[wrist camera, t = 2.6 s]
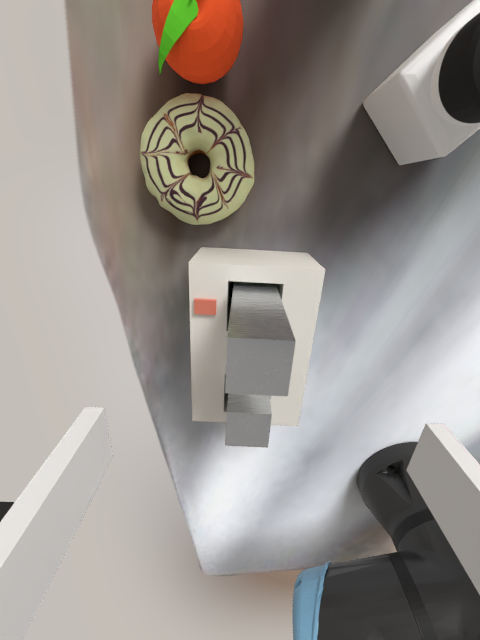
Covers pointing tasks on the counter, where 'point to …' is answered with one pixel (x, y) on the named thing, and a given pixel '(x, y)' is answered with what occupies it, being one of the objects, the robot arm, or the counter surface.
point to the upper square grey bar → (258, 342)
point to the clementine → (198, 36)
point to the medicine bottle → (432, 93)
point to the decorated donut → (188, 139)
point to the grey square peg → (248, 420)
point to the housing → (214, 312)
